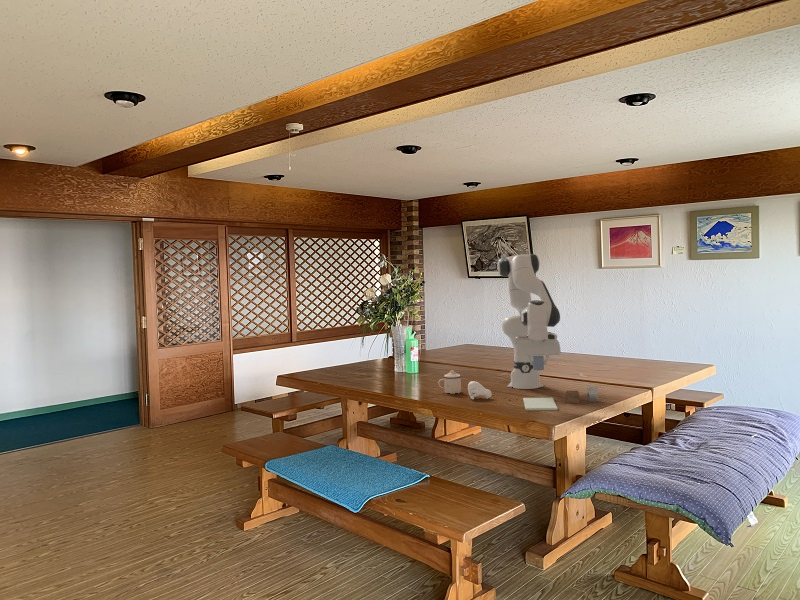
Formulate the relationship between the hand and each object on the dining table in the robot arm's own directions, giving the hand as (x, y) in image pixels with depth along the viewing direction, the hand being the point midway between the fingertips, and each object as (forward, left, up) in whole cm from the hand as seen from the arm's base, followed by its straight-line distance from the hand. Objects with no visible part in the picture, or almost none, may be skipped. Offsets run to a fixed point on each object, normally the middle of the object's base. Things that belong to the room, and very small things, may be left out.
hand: (538, 364), depth 278 cm
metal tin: (-7, +25, -19) cm, 32 cm away
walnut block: (-6, +16, -19) cm, 26 cm away
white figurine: (-15, -28, -19) cm, 37 cm away
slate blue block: (0, 0, -2) cm, 2 cm away
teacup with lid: (-30, -44, -19) cm, 57 cm away
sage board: (0, 0, -19) cm, 19 cm away
